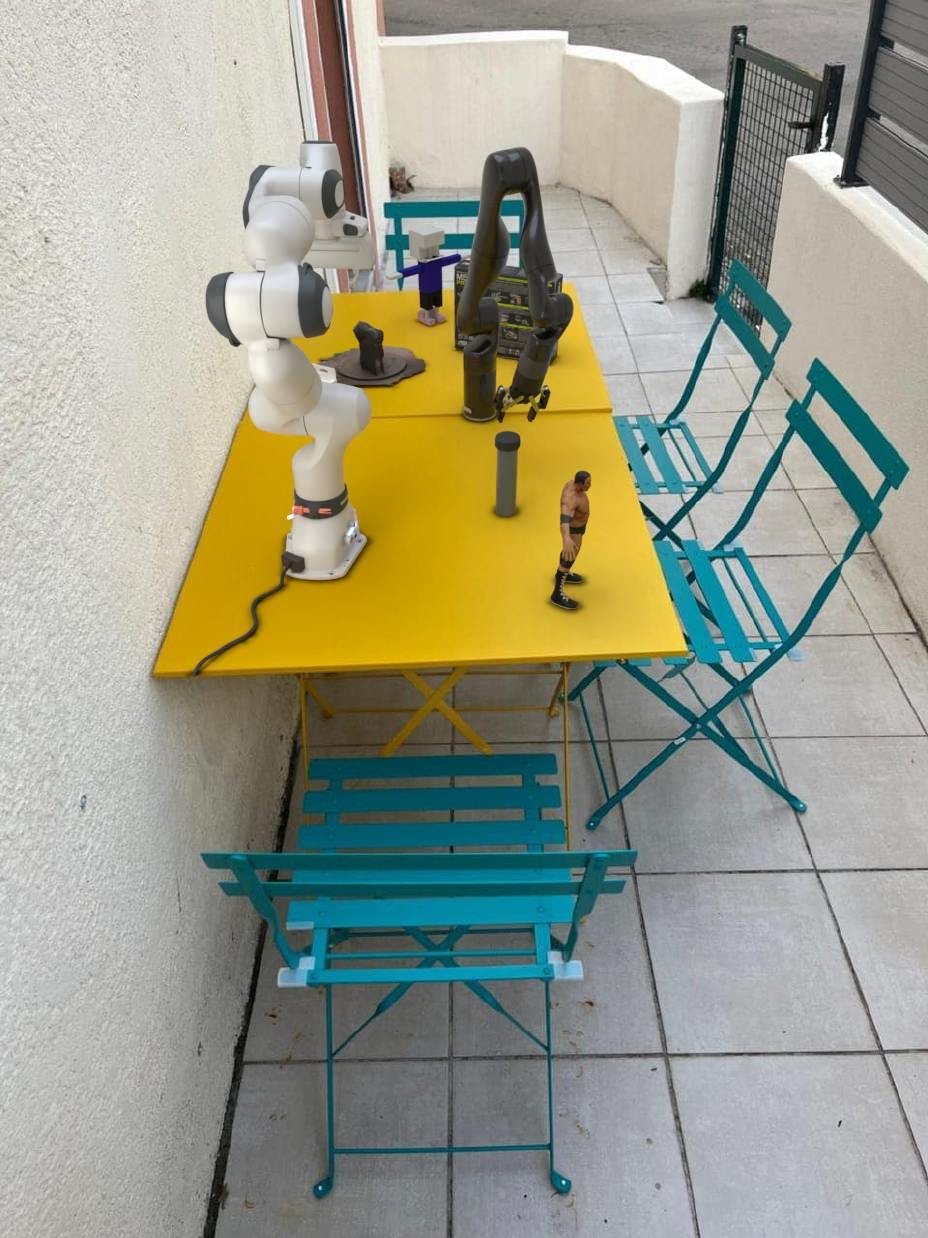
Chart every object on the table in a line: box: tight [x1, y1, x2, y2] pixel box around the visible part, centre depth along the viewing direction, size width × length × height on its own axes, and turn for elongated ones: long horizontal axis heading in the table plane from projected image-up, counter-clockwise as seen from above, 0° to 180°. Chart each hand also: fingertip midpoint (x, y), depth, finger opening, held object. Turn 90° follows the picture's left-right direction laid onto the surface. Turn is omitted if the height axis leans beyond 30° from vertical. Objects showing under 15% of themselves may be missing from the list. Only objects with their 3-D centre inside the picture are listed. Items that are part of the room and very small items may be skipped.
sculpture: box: [316, 320, 426, 387], centre depth 273 cm, size 33×35×16 cm
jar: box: [495, 448, 519, 517], centre depth 210 cm, size 5×5×20 cm
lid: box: [494, 430, 521, 452], centre depth 204 cm, size 6×6×2 cm
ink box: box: [311, 362, 337, 383], centre depth 249 cm, size 9×5×15 cm, turn 62°
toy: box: [384, 223, 471, 327], centre depth 298 cm, size 35×10×30 cm, turn 130°
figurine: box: [550, 470, 592, 610], centre depth 182 cm, size 24×6×30 cm, turn 168°
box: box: [453, 259, 564, 365], centre depth 278 cm, size 34×7×27 cm, turn 68°
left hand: (332, 287), depth 199 cm, fingers open, 8 cm apart
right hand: (514, 420), depth 230 cm, fingers open, 8 cm apart
